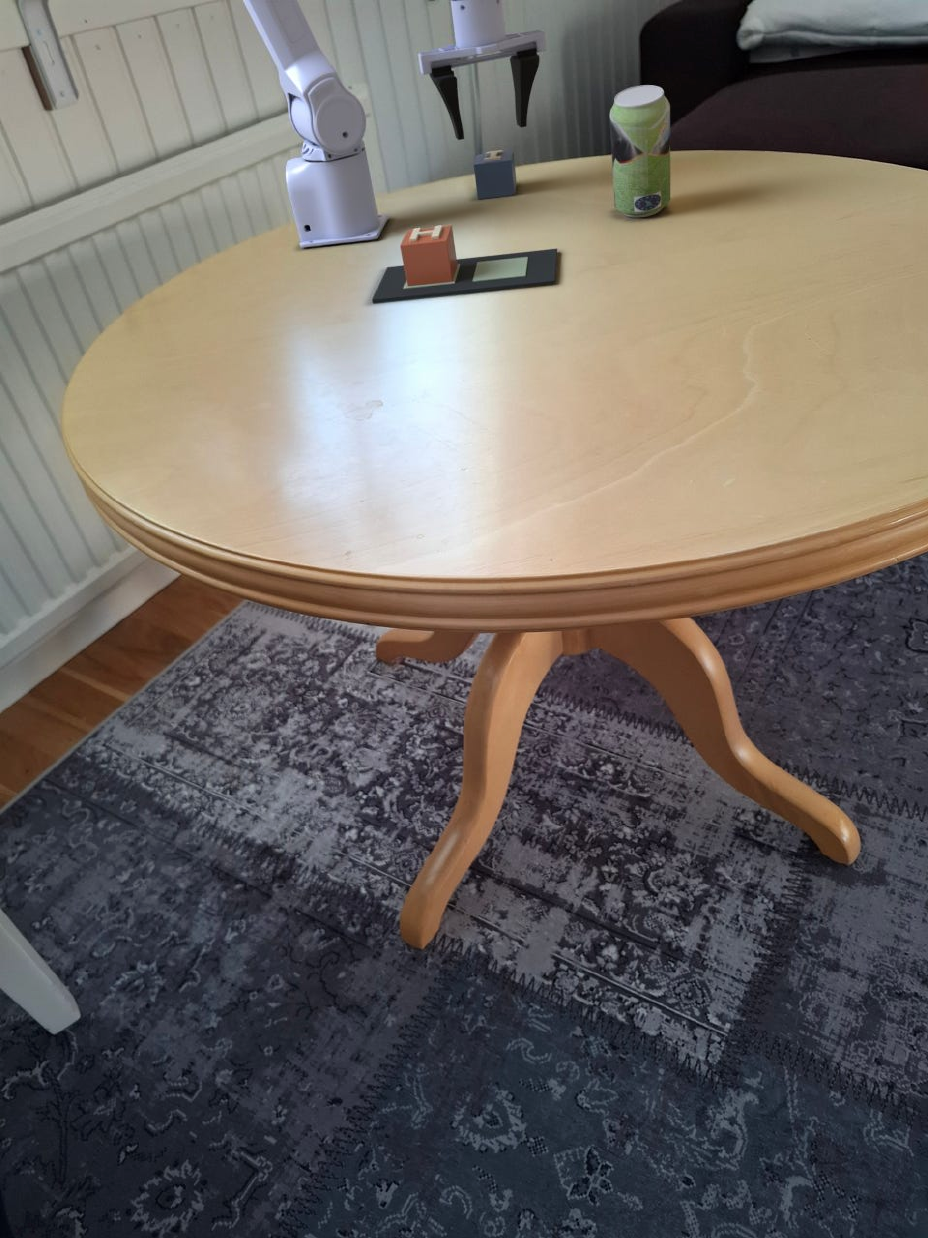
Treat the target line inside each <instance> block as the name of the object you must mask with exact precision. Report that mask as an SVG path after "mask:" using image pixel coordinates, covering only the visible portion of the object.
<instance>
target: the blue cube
mask: <svg viewBox="0 0 928 1238" xmlns="http://www.w3.org/2000/svg"><path fill="white" fill-rule="evenodd" d="M473 172H474V179H475V180H474V181H475V187H476V188H475V189H476V196H477V200H485V199H494V198H502V197H510V196H515V195H516V190H517V185H518V182H517V171H516V162H515V151H514V149H512V150H503V149H498V150H492V151H486V153H479V154H477V155H476V157H475V159H474V162H473Z"/></svg>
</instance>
